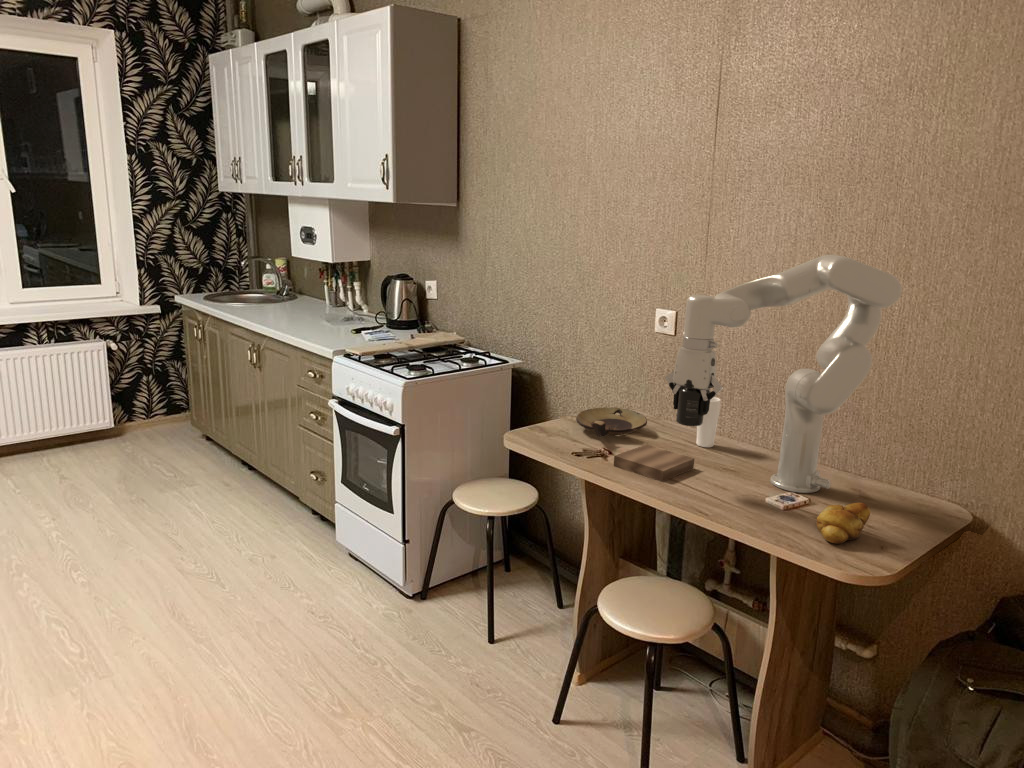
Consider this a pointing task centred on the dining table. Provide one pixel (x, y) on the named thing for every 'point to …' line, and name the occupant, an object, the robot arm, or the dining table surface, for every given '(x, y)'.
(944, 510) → the dining table surface
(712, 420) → the drinking glass
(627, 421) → the olive brown shallow dish
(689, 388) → the supplement bottle
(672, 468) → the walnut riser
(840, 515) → the bread roll
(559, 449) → the dining table surface
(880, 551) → the dining table surface
